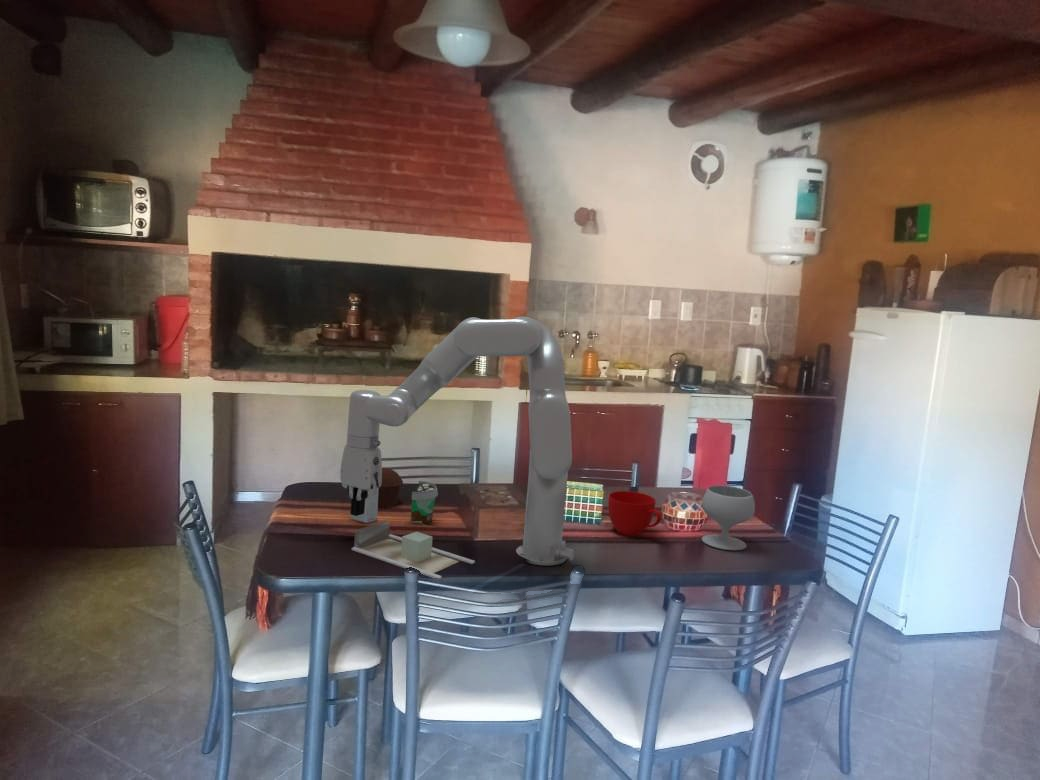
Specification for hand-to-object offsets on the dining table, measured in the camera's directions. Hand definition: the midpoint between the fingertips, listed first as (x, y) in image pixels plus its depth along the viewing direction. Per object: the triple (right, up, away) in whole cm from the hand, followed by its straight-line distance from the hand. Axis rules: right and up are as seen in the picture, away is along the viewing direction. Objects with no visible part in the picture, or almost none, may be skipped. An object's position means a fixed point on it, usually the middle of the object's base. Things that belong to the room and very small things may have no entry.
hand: (357, 514), depth 188 cm
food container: (+14, -6, +20) cm, 26 cm away
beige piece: (+13, -9, -7) cm, 18 cm away
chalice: (+96, -12, +23) cm, 100 cm away
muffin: (0, -3, +35) cm, 35 cm away
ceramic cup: (+72, -10, +25) cm, 77 cm away
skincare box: (-2, -5, +19) cm, 20 cm away
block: (+16, -9, -9) cm, 20 cm away
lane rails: (+15, -10, -8) cm, 19 cm away
